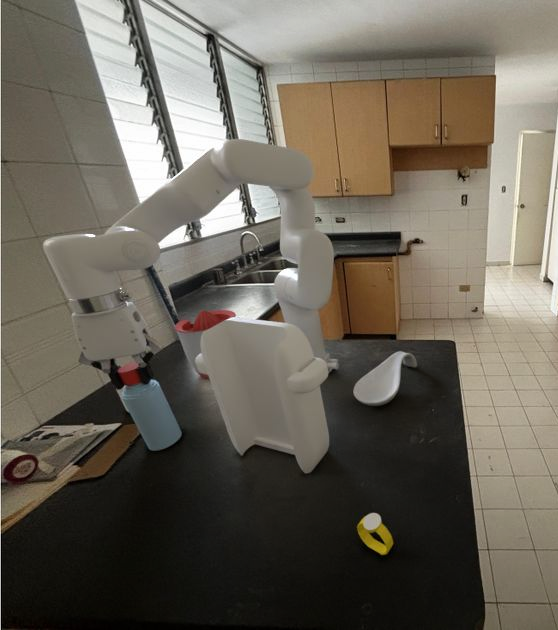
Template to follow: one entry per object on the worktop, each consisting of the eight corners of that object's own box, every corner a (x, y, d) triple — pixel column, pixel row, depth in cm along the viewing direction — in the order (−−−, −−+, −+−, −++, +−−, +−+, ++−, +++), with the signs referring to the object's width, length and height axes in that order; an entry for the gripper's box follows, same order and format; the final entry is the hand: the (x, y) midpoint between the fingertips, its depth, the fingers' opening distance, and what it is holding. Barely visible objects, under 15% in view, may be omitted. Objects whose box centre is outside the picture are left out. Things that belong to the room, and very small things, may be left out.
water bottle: (188, 430, 79) (157, 362, 71) (165, 451, 73) (128, 379, 66) (165, 429, 80) (132, 361, 73) (141, 449, 74) (102, 378, 67)
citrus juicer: (231, 351, 116) (215, 296, 108) (258, 364, 106) (243, 306, 98) (181, 372, 104) (159, 313, 96) (207, 389, 95) (184, 325, 87)
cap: (120, 387, 68) (113, 374, 66) (128, 377, 71) (121, 365, 70) (143, 382, 69) (137, 369, 68) (149, 373, 72) (143, 360, 71)
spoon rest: (384, 418, 80) (382, 394, 77) (345, 406, 85) (341, 382, 82) (427, 369, 99) (426, 348, 97) (393, 361, 104) (391, 341, 102)
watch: (397, 548, 52) (394, 523, 50) (386, 565, 50) (383, 539, 48) (367, 530, 55) (363, 505, 53) (356, 545, 53) (351, 519, 51)
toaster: (355, 442, 74) (336, 317, 62) (326, 483, 64) (297, 345, 52) (257, 418, 82) (224, 305, 70) (219, 452, 72) (173, 327, 61)
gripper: (158, 289, 68) (186, 366, 76) (56, 302, 64) (96, 382, 71) (143, 301, 62) (175, 384, 69) (28, 316, 57) (76, 403, 64)
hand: (135, 382), depth 70 cm, fingers closed on cap, 3 cm apart
